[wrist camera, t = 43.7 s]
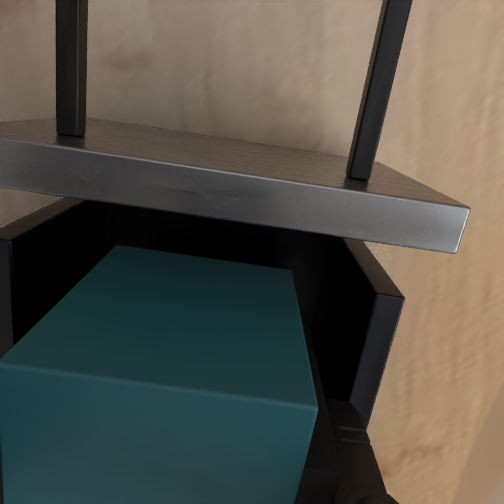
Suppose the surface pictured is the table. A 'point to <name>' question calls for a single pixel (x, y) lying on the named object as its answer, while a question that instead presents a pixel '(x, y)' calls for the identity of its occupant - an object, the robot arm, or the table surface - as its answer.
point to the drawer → (222, 210)
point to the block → (160, 388)
